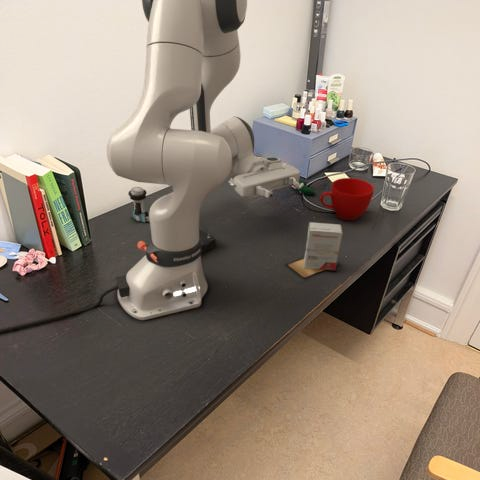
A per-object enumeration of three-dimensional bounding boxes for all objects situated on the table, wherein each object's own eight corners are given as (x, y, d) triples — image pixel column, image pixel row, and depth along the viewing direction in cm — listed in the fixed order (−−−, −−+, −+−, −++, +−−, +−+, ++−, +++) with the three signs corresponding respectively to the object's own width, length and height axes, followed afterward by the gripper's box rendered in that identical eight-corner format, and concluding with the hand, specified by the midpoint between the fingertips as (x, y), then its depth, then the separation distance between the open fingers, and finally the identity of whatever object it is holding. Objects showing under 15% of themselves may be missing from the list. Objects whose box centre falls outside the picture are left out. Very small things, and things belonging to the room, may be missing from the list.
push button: (156, 219, 139) (153, 189, 133) (144, 226, 136) (141, 196, 129) (140, 213, 142) (136, 184, 135) (128, 220, 138) (124, 190, 132)
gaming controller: (298, 190, 163) (288, 180, 159) (305, 182, 161) (296, 172, 158) (308, 201, 156) (298, 191, 152) (316, 193, 155) (306, 183, 151)
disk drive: (216, 246, 129) (182, 227, 136) (216, 237, 127) (182, 219, 134) (190, 260, 123) (156, 239, 130) (190, 251, 121) (155, 231, 128)
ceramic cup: (309, 209, 147) (313, 180, 141) (355, 204, 151) (362, 176, 145) (325, 228, 138) (330, 198, 132) (374, 222, 142) (381, 193, 135)
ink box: (334, 261, 124) (342, 223, 116) (335, 271, 120) (343, 233, 112) (303, 258, 124) (309, 221, 117) (303, 268, 121) (309, 230, 113)
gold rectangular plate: (304, 278, 118) (304, 277, 118) (287, 265, 122) (288, 264, 122) (337, 264, 123) (337, 263, 123) (320, 253, 127) (320, 252, 127)
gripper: (225, 169, 123) (254, 188, 115) (282, 156, 132) (313, 172, 124) (224, 191, 127) (252, 210, 119) (280, 176, 136) (310, 193, 128)
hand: (284, 191), depth 121 cm, fingers open, 8 cm apart
